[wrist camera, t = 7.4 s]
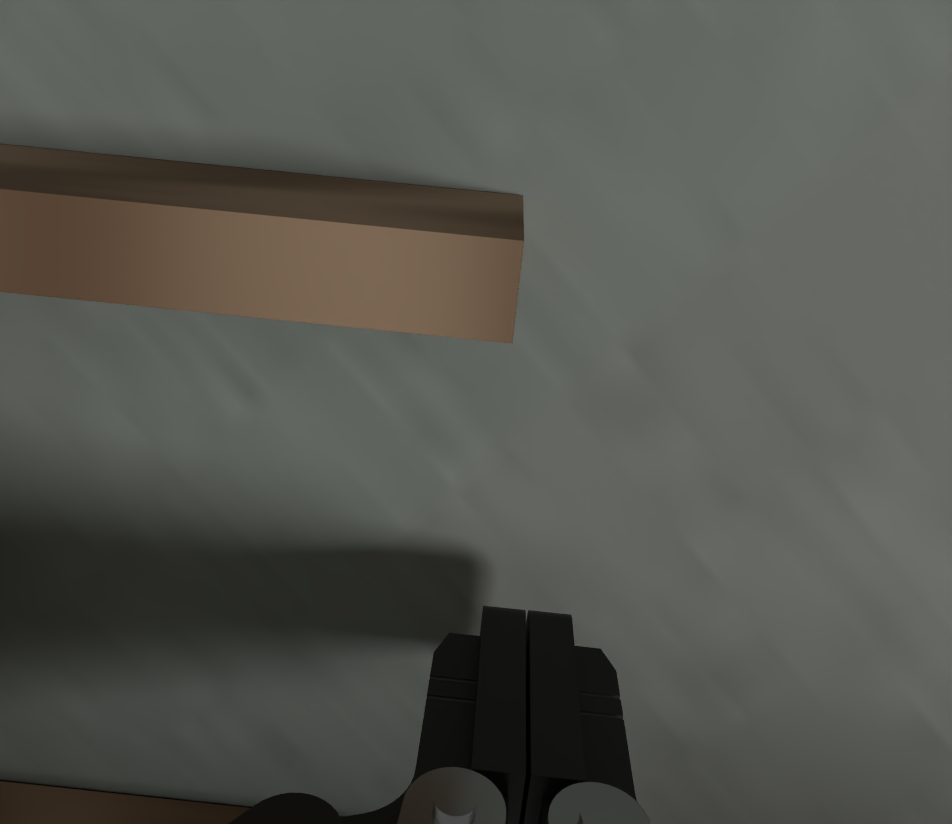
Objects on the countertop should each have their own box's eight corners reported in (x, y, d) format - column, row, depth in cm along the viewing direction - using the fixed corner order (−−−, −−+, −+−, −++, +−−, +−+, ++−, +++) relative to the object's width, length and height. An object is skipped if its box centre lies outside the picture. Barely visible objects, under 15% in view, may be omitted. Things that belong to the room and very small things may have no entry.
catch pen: (523, 195, 12) (524, 271, 8) (449, 869, 18) (425, 1145, 13) (-239, 120, 13) (-677, 151, 8) (-77, 813, 18) (-280, 1066, 14)
